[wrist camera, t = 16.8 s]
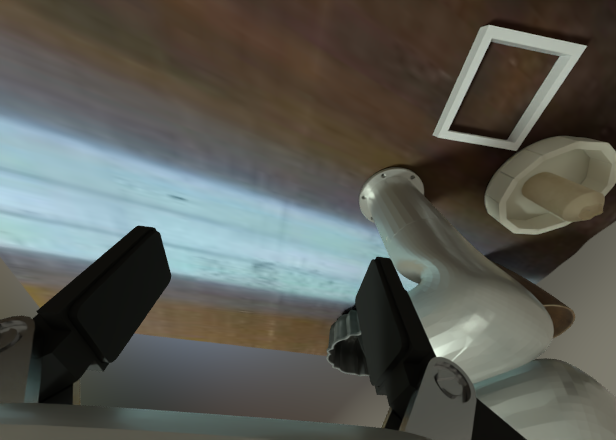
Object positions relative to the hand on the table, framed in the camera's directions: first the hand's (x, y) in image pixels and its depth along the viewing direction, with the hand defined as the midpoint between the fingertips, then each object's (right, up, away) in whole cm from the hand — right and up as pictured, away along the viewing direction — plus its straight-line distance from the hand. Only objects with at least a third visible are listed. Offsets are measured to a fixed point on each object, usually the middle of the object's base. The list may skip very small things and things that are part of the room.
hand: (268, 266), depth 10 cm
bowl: (+46, +9, +33) cm, 58 cm away
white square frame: (+32, +22, +25) cm, 46 cm away
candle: (+46, +9, +32) cm, 57 cm away
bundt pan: (+20, -31, +60) cm, 70 cm away
